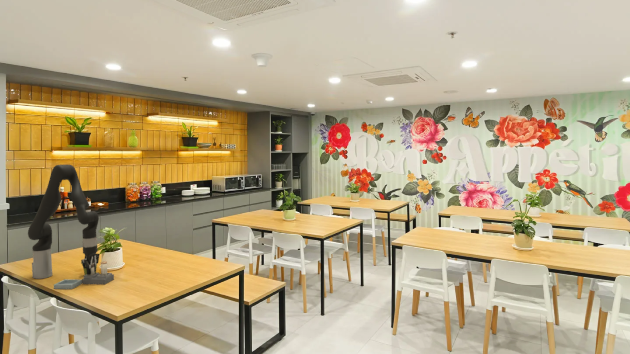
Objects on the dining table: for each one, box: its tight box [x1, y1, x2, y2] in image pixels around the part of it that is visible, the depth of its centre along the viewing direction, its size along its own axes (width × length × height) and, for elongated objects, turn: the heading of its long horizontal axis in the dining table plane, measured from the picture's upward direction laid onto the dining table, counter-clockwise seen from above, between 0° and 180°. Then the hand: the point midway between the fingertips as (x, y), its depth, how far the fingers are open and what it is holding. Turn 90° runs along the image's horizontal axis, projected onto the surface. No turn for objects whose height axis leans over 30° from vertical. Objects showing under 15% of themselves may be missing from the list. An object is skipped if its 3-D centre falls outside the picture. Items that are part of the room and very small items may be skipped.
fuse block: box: [81, 272, 115, 285], centre depth 225 cm, size 14×9×4 cm, turn 87°
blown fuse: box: [88, 261, 95, 275], centre depth 225 cm, size 3×3×9 cm
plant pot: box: [80, 259, 98, 275], centre depth 237 cm, size 9×9×9 cm
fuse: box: [100, 260, 108, 276], centre depth 224 cm, size 3×3×9 cm
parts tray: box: [53, 278, 83, 290], centre depth 217 cm, size 11×9×3 cm
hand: (91, 272), depth 225 cm, fingers open, 4 cm apart
